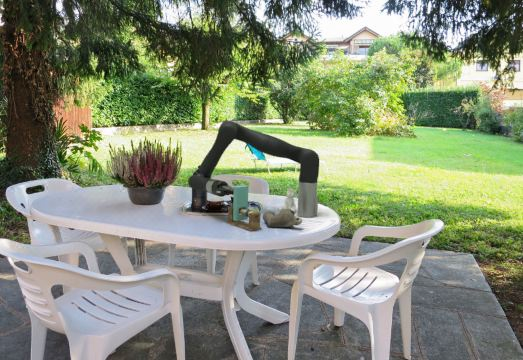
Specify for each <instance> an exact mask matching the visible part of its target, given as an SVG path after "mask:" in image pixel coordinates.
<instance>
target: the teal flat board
mask: <svg viewBox="0 0 523 360" xmlns="http://www.w3.org/2000/svg"><path fill="white" fill-rule="evenodd" d="M233 187H234V195H233V199H232V200H233V201H232V203H233V205H232V206H233V220H234V221H246V220H249V217H247V216H245V215H242V214H239V208H241V209H244V210H249V185H245V184H244V185H235V186H233Z"/></svg>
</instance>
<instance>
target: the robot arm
mask: <svg viewBox="0 0 523 360" xmlns="http://www.w3.org/2000/svg"><path fill="white" fill-rule="evenodd" d="M235 140H236V141H240V142H243V143H245V144H247V145H249V146H250V147H251V148H253V149H255V150H257V151H258V152H259V153H263V154H266V155H268V156H272V157H274V158H275V157H277V158H282V159H288V160H291V161H293V162H295V163H296V164H298V165H300V168H299V176H298V191H297V194H298V195H297V209H296V210H297V214H296V215H297V217H298V216H299V217H300V218H314V217H318V208H319V207H318V206H319V205H318V204H319V197H318V196H317V195H318V179H319V172H320V156H319V154H318V153H317V152H316V151H315V150H313V149H311V148H305V147H300V146H297V145H293V144H291V143H289V142H287V141H286V140H283V139H281V138H278V137H276V136H273V135H270V134H267V133H264V132H261V131H257V130H254V129H250V128H249V127H246V126H243V125H241V124H240V123H238V122H235V121H233V120H225V121H223V122H222V123H220V126H219V127H218V131H217V134H216V138H215V140H214V143H213V145H212V147H211V148H210V150H209V151H208V152H207V154H206V156H205V157H204V158H203V160H202V162H201V164H200V165H199V167H198V171H199V173H200V174H201V175H199V174H198V175H197V174H193V175H190V177H189V178H188V180H187V184H188V186H189V187H190V188H191V189H194V190H199V191H203V192H205V193H209V194H211V195H214V196H217V197H220V198H221V197H225V196H234V187H235V186H231V185H229V184H228V183H227V182H226V181H223V180H221V179H216V178H212V174H213V172H214V171H215V169H216V168H217V165H218V163H219V162H220V160H221V158H222V156H223V154H224V152H225V151H226V149H228V147H229V146H230V145H231V144H232V142H233V141H235Z"/></svg>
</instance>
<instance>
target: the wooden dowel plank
mask: <svg viewBox="0 0 523 360" xmlns="http://www.w3.org/2000/svg"><path fill="white" fill-rule="evenodd" d="M227 208H228V209H227V210H228V214H227V221H226V224H229V225H232V226H235V227H236V228H237V227H238V228H239V229H242V230H244V231H248V232H251V233H252V232H256V231H260V230H262V227H261V212H259V211H252V210H249V209H248V210H244V209H242V208H239V215H241V214H242V215H245V216H247V217H248V222H246V221H244V220H240V221H234V220H233V205H230V206H228V207H227Z"/></svg>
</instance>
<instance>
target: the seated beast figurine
mask: <svg viewBox="0 0 523 360" xmlns="http://www.w3.org/2000/svg"><path fill="white" fill-rule="evenodd" d="M297 194H298V191H295V190H294V189H292V188H287V190H286V196H287V197H285V200H284V205H282V206H279V207H278V208H277V211H278V213H279V212H281V211H283V210H285V209H290V210H292V211H294V214H295V213H296V207H297V206H296V204H295V199H294V197H295V195H297Z"/></svg>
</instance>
